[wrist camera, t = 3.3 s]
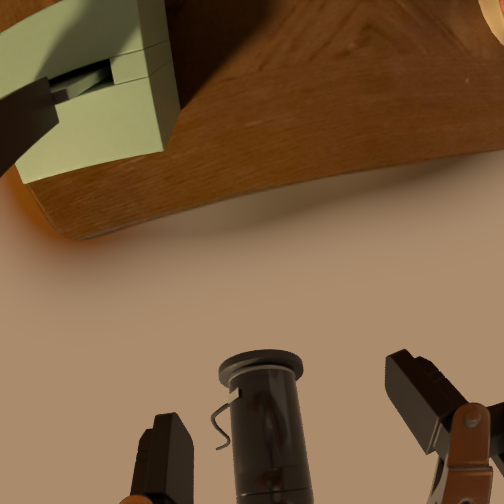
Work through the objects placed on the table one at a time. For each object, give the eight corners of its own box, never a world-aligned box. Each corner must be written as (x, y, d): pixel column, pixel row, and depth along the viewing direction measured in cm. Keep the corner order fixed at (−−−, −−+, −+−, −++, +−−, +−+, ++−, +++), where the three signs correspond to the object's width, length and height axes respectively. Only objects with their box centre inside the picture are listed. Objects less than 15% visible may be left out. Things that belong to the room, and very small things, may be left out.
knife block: (181, 111, 17) (164, 151, 12) (67, 138, 17) (23, 184, 12) (163, -13, 11) (133, -26, 7) (40, 30, 11) (-20, 46, 7)
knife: (140, 70, 15) (-61, 275, 3) (80, 87, 15) (-117, 284, 3) (135, 43, 14) (-110, 188, 2) (74, 61, 14) (-149, 230, 2)
